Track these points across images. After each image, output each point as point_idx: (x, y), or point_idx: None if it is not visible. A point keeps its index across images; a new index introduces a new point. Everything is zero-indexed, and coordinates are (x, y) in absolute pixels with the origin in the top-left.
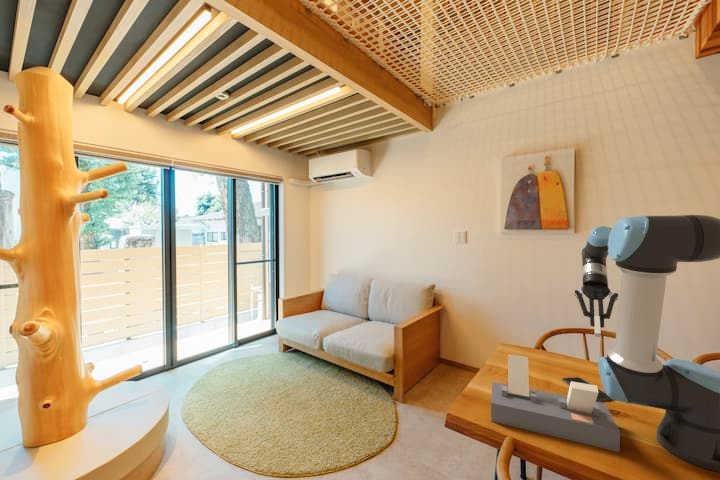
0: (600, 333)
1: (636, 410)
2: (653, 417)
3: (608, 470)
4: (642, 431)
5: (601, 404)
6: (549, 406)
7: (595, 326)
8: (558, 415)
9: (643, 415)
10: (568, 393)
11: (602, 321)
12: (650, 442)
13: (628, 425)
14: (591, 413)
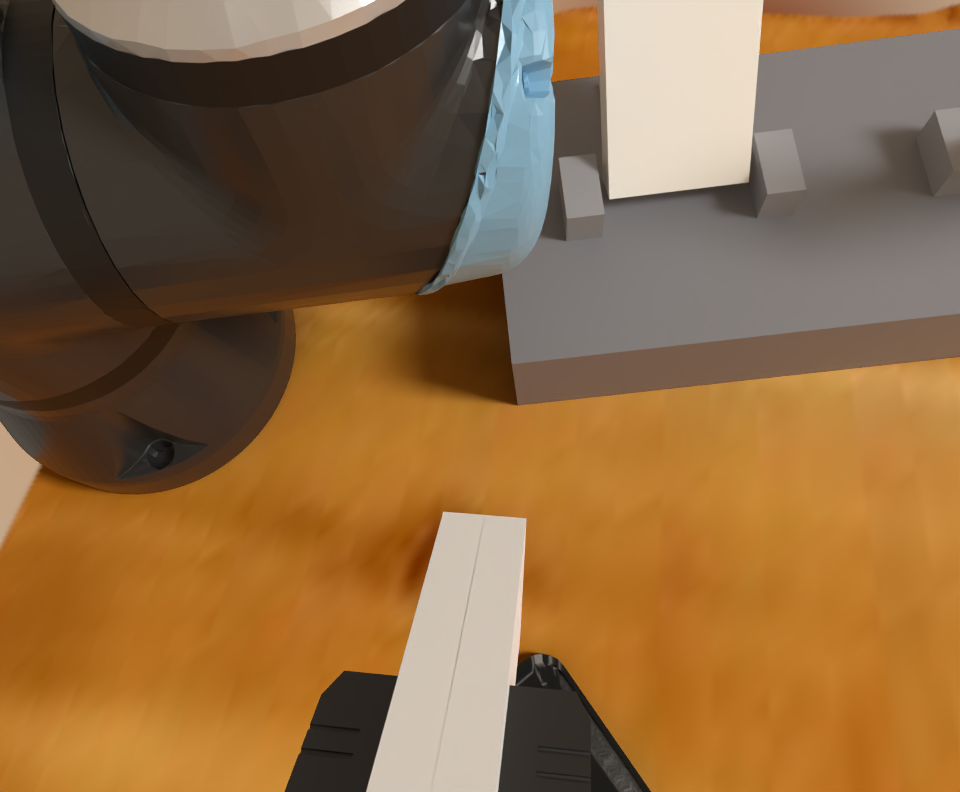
0: (445, 512)
1: (297, 662)
2: (226, 614)
3: (557, 23)
4: (339, 406)
5: (530, 332)
6: (837, 139)
7: (503, 607)
8: (779, 70)
9: (276, 610)
10: (757, 38)
11: (329, 765)
12: (333, 318)
13: (394, 433)
14: (603, 177)
